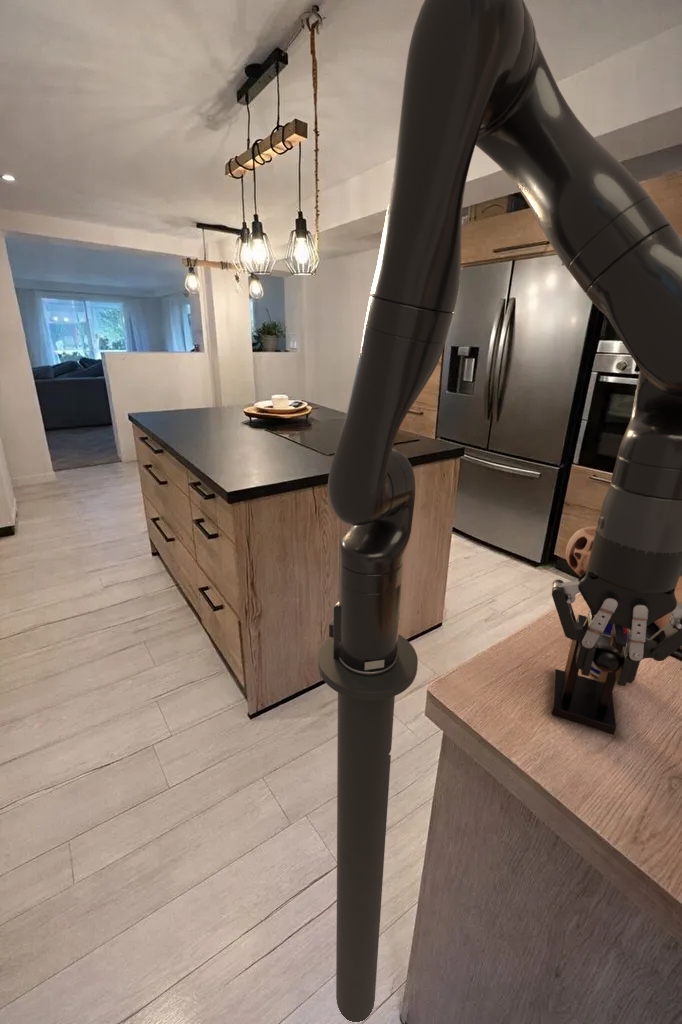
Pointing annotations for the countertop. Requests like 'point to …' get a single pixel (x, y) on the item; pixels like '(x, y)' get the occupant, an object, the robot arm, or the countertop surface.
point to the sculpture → (580, 555)
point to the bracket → (587, 689)
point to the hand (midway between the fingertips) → (601, 675)
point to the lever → (606, 654)
